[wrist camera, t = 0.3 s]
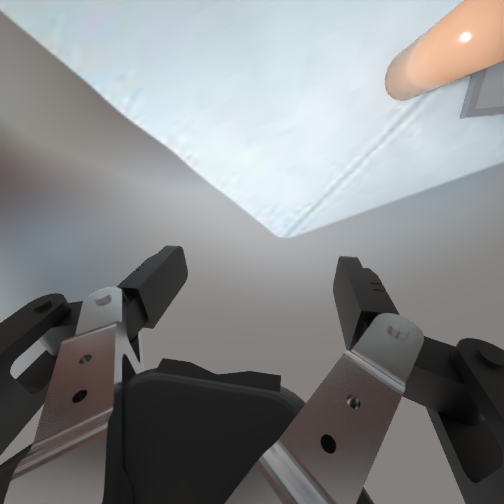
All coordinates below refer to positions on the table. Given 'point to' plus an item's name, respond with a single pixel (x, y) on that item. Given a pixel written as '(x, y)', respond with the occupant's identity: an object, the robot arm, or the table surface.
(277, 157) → the table surface
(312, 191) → the table surface
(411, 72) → the peach tall cylinder
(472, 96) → the coaster
